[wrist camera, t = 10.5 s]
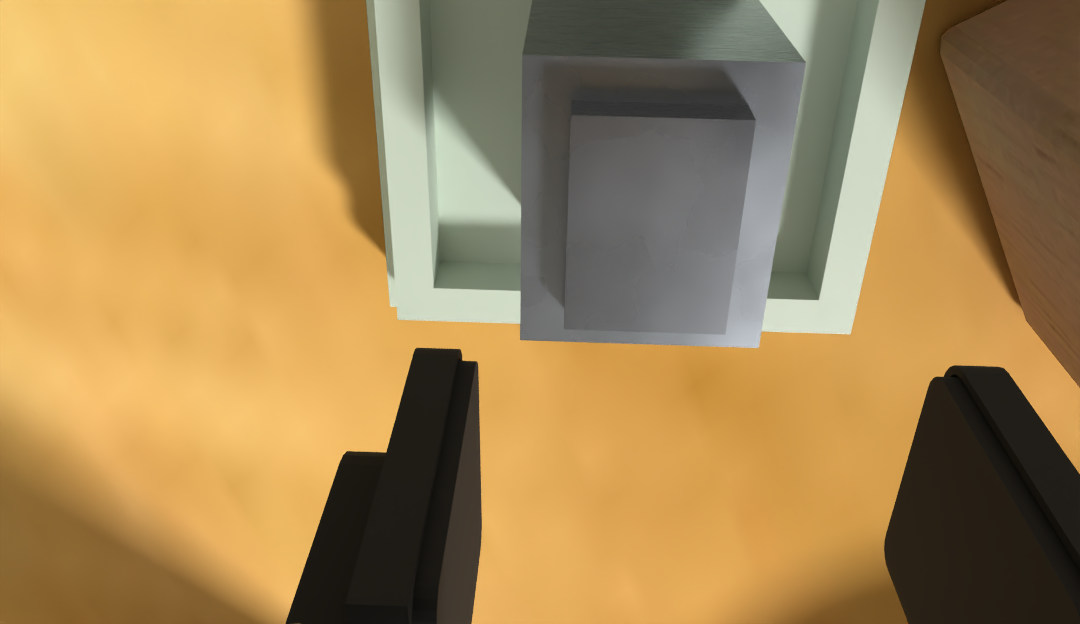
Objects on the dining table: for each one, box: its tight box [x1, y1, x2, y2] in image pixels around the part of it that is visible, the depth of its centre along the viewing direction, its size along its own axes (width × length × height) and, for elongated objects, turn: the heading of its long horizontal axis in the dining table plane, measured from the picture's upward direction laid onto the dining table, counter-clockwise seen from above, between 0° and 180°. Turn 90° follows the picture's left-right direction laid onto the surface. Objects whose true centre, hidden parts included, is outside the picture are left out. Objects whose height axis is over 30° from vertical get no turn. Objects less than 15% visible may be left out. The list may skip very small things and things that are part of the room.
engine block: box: [520, 0, 806, 348], centre depth 20 cm, size 6×5×7 cm
